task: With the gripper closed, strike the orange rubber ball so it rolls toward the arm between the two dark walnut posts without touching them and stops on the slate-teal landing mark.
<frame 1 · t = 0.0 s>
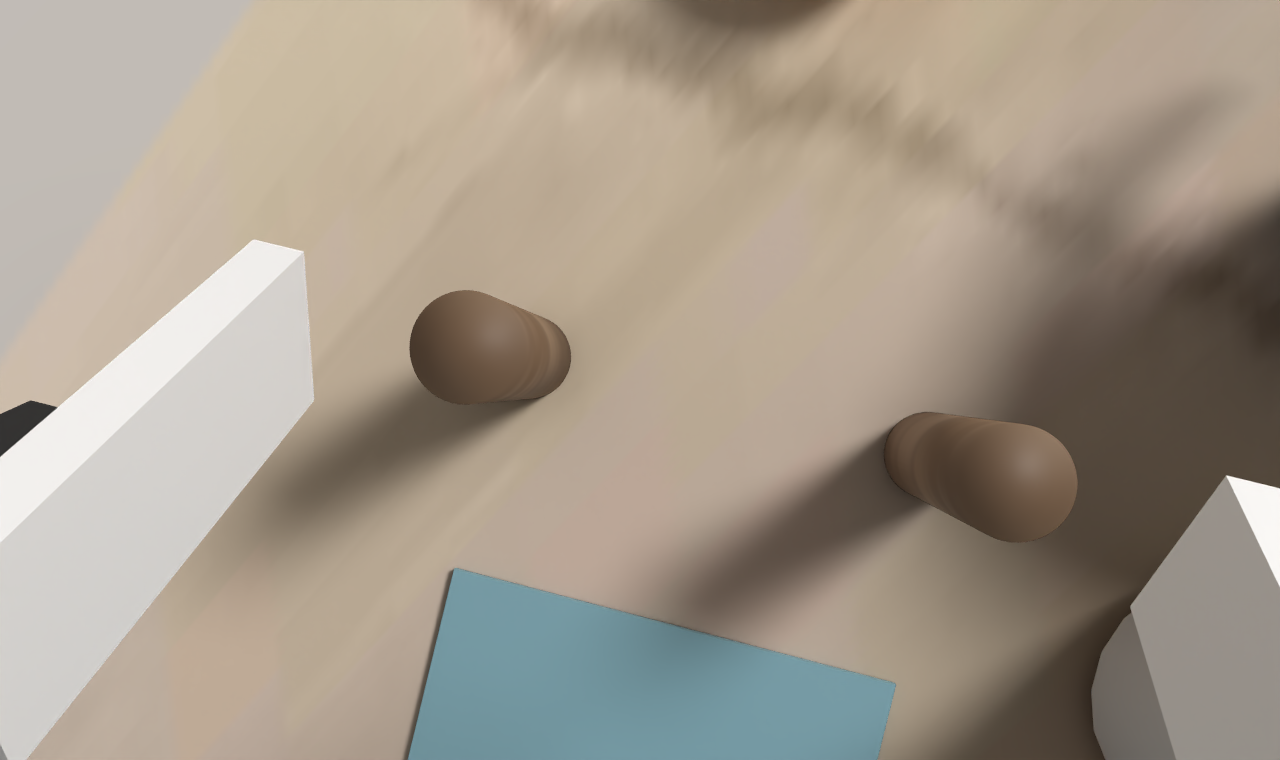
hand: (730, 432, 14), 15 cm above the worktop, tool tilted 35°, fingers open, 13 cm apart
can: (1203, 693, 28), on the worktop
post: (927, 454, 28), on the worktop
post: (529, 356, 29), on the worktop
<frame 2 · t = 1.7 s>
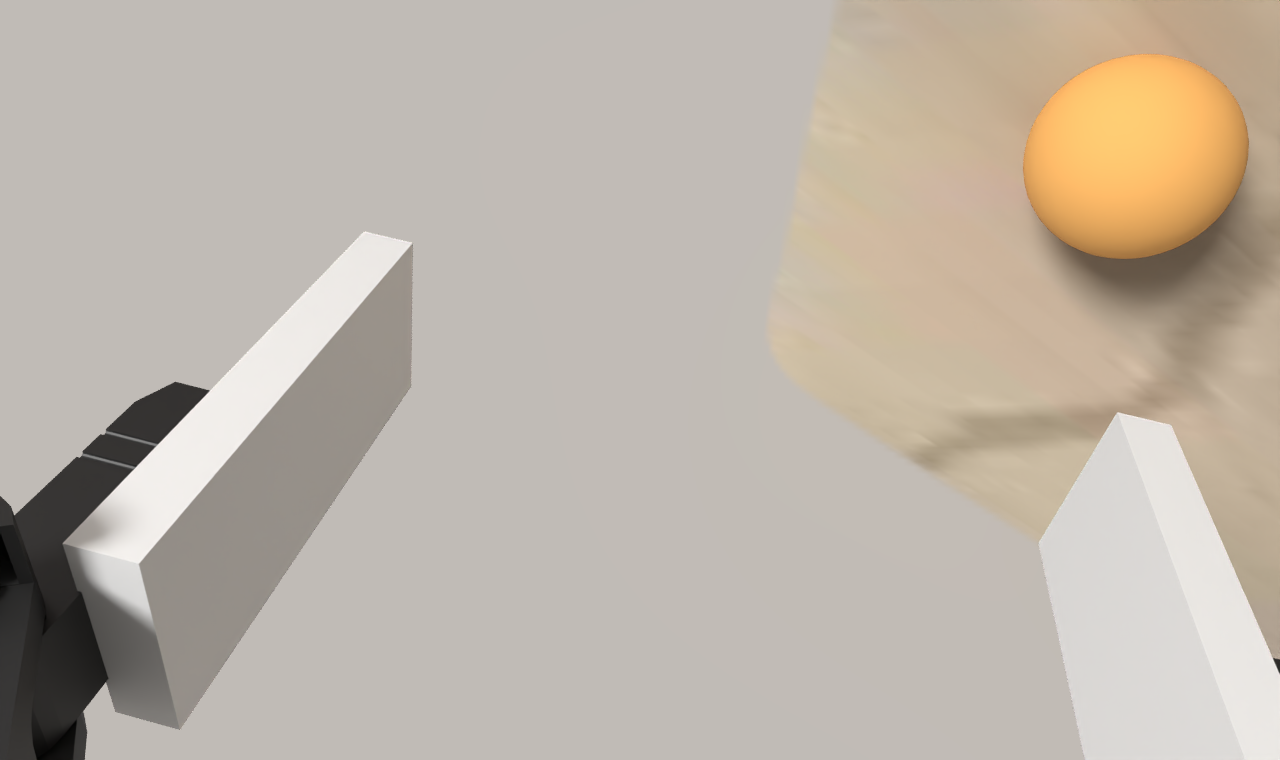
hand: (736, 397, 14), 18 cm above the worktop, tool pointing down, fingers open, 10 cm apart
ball: (1130, 159, 26), on the worktop
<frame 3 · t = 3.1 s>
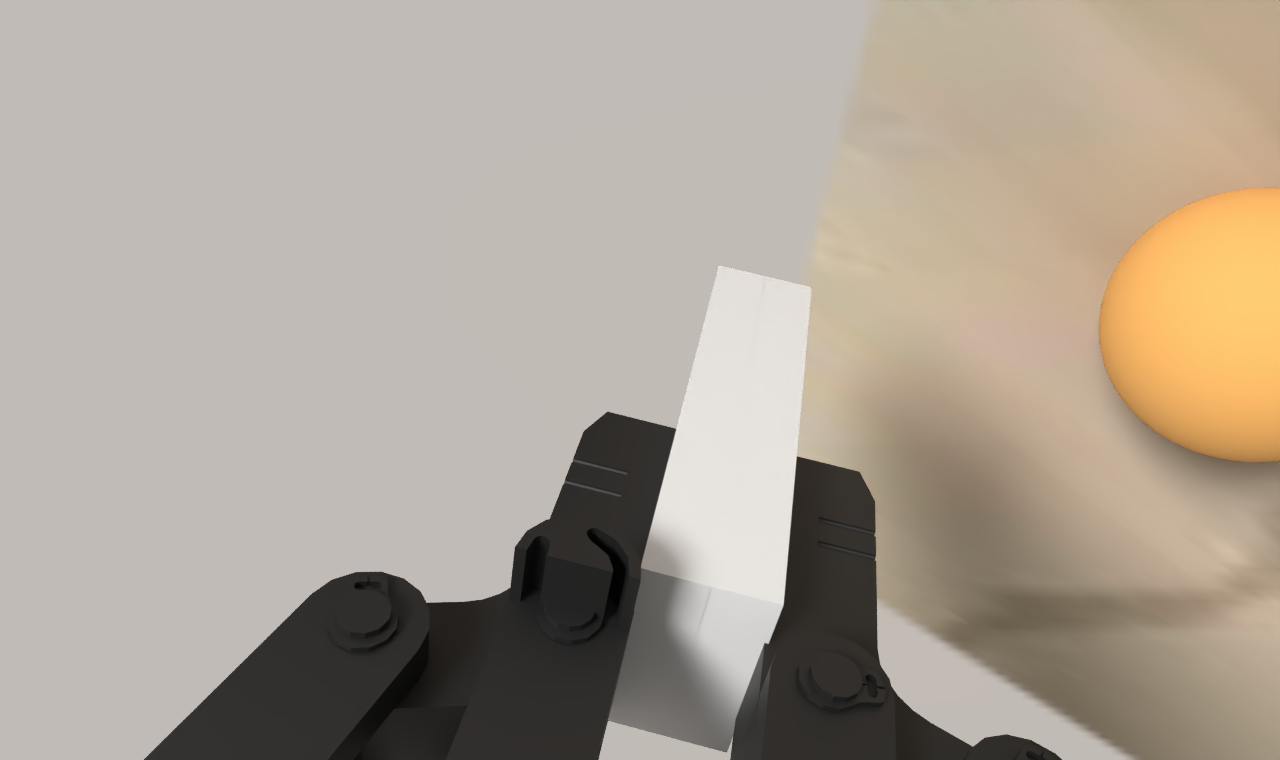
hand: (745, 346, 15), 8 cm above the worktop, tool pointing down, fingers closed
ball: (1249, 326, 19), on the worktop
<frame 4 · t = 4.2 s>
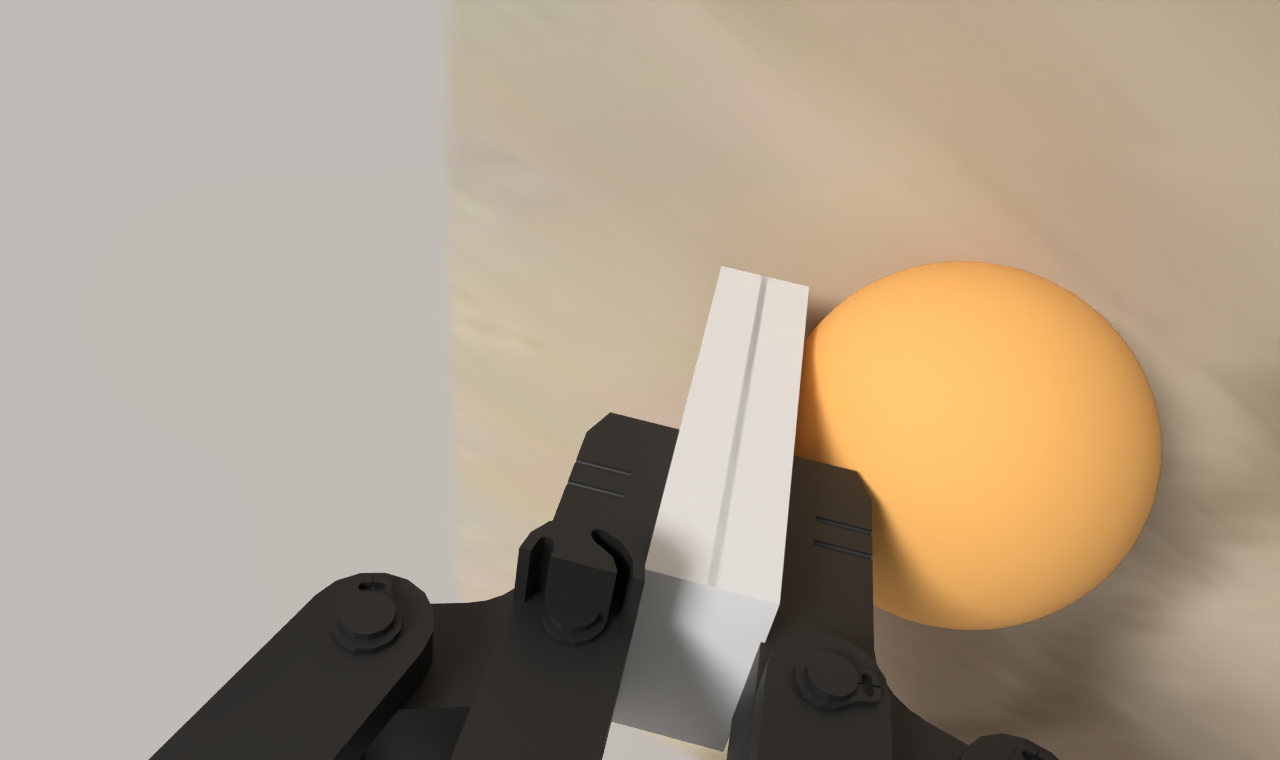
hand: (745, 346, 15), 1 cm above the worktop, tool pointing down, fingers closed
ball: (955, 443, 14), on the worktop, touching gripper
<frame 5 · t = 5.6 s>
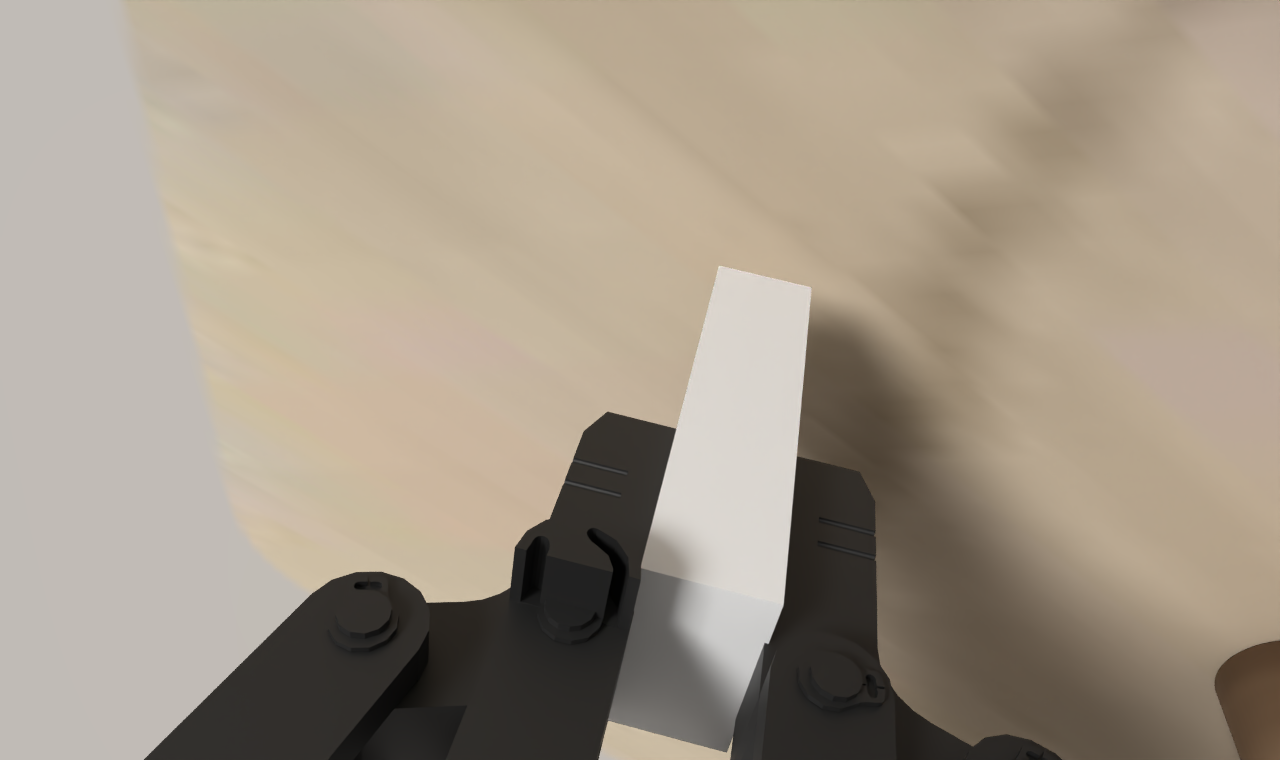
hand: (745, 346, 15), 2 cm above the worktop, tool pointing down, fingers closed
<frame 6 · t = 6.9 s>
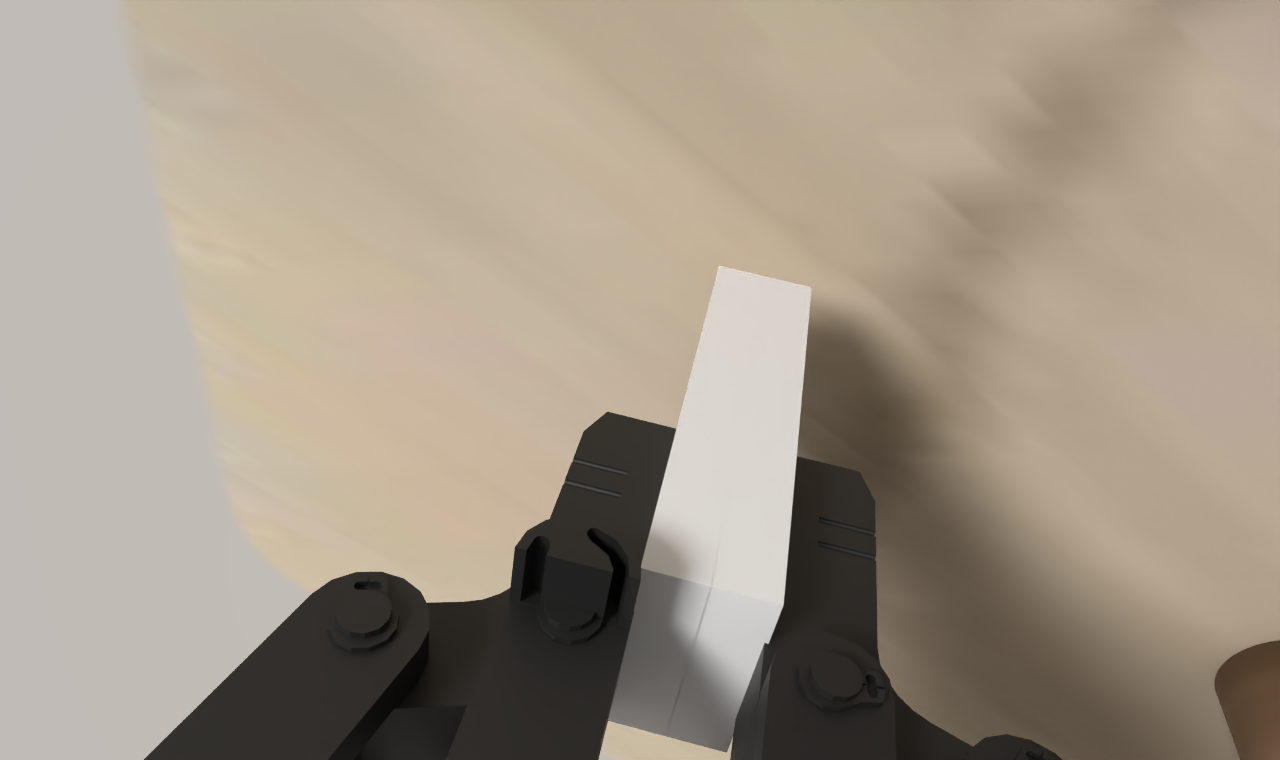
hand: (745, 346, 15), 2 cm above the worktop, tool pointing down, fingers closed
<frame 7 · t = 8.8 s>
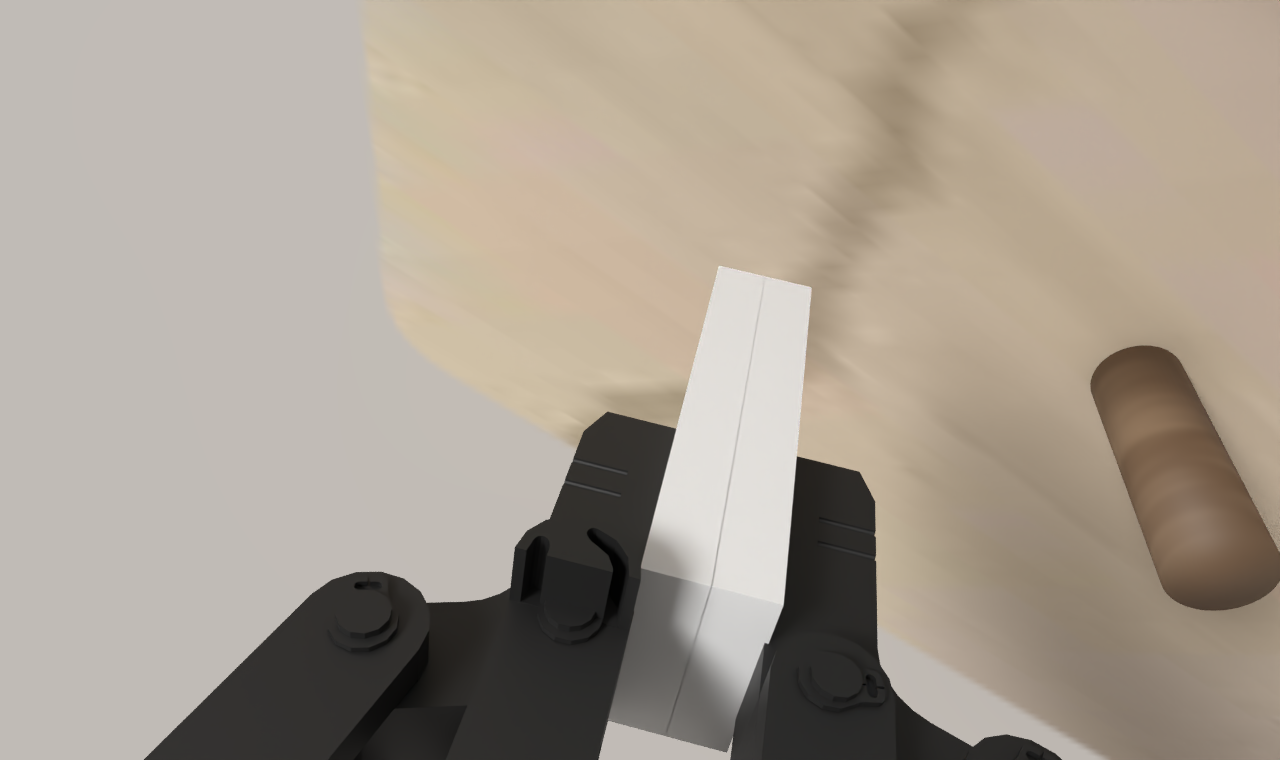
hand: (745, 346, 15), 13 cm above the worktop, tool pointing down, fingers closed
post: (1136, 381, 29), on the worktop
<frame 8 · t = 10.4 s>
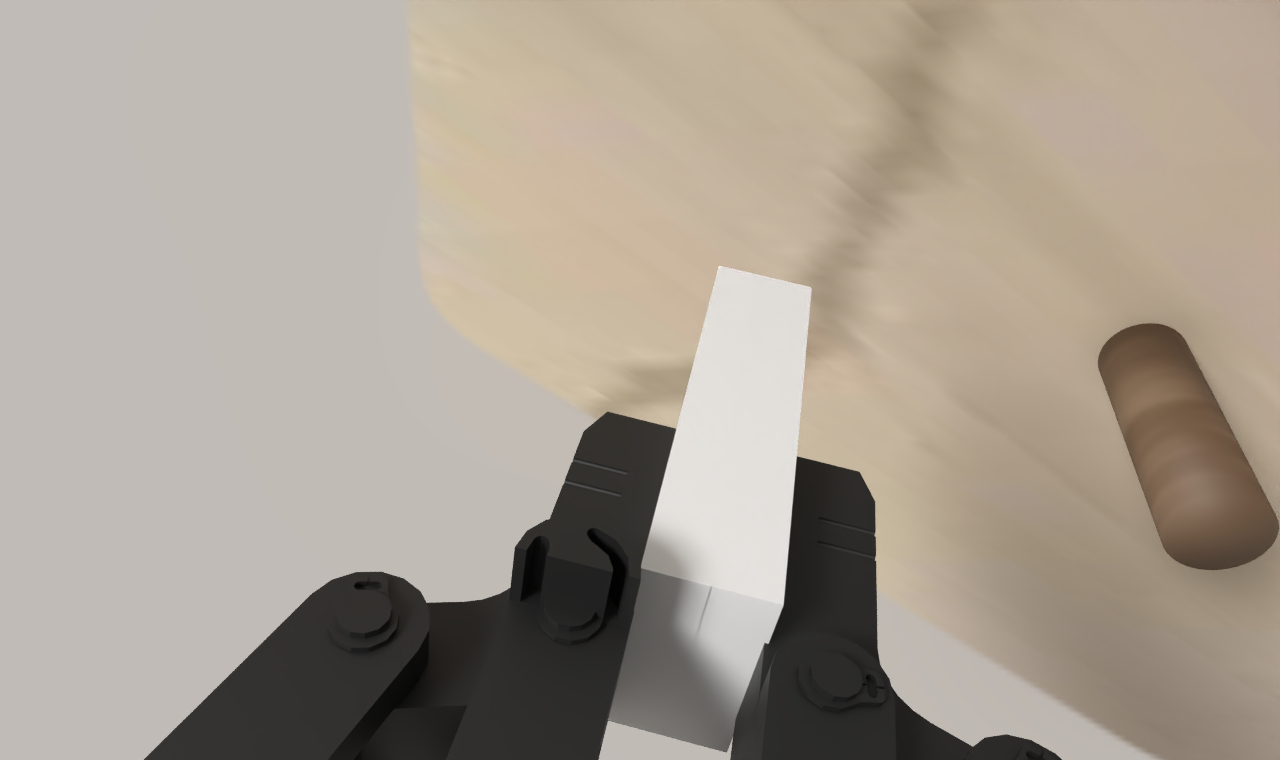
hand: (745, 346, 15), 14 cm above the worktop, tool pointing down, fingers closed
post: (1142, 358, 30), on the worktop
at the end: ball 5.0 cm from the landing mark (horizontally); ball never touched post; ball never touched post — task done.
